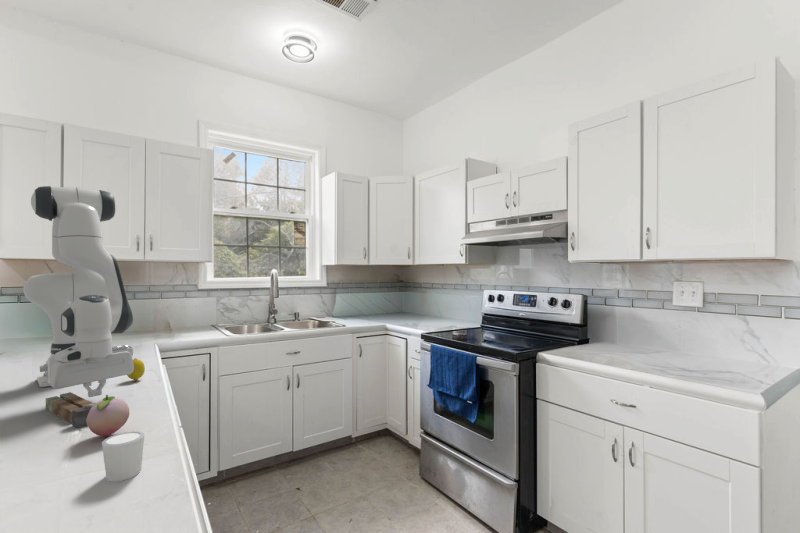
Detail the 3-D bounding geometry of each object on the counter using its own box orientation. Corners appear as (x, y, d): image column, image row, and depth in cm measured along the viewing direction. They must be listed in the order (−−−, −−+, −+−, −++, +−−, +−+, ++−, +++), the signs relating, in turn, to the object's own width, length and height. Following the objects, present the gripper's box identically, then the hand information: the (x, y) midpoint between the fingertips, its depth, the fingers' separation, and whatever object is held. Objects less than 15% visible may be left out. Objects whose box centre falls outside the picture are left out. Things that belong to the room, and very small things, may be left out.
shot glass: (116, 466, 82) (115, 431, 82) (151, 464, 82) (151, 429, 82) (93, 484, 75) (92, 446, 75) (132, 482, 75) (131, 444, 75)
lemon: (135, 383, 141) (135, 360, 141) (122, 382, 142) (122, 359, 143) (148, 378, 147) (148, 357, 147) (135, 378, 148) (135, 356, 148)
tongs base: (43, 409, 116) (43, 393, 116) (71, 403, 121) (70, 387, 121) (77, 428, 102) (76, 409, 102) (106, 419, 107) (106, 402, 107)
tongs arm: (96, 415, 109) (96, 404, 109) (85, 418, 107) (85, 407, 107) (70, 402, 121) (70, 392, 121) (60, 404, 119) (59, 394, 119)
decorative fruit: (129, 439, 94) (128, 396, 95) (84, 448, 90) (84, 403, 90) (130, 426, 102) (129, 386, 102) (89, 433, 98) (89, 392, 98)
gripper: (128, 343, 131) (128, 385, 131) (47, 354, 114) (48, 403, 114) (137, 344, 128) (137, 388, 128) (55, 357, 111) (56, 407, 111)
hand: (94, 395), depth 121 cm, fingers closed
